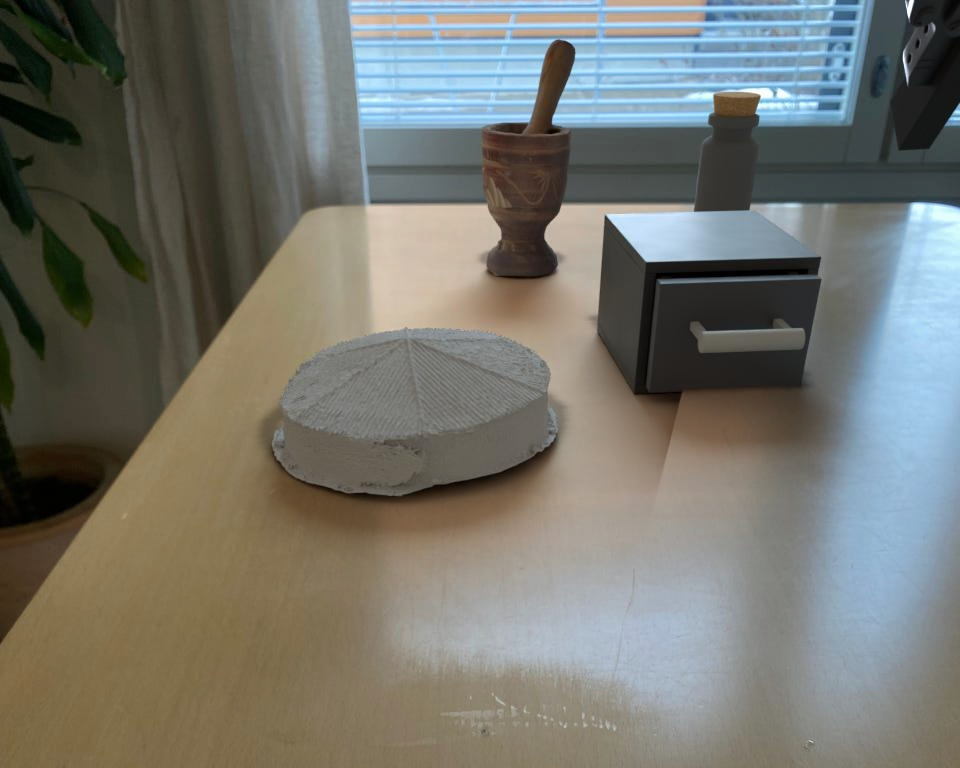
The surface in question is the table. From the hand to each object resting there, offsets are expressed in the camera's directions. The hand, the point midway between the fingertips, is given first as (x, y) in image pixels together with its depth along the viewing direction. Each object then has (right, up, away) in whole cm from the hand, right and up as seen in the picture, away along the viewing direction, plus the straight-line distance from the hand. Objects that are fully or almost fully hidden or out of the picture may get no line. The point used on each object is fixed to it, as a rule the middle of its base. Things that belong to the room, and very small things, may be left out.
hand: (909, 124), depth 47 cm
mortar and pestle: (-16, +15, +56) cm, 60 cm away
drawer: (-3, -4, +29) cm, 29 cm away
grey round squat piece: (-25, -11, +21) cm, 34 cm away
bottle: (+5, +18, +61) cm, 63 cm away
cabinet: (-3, -2, +33) cm, 33 cm away
